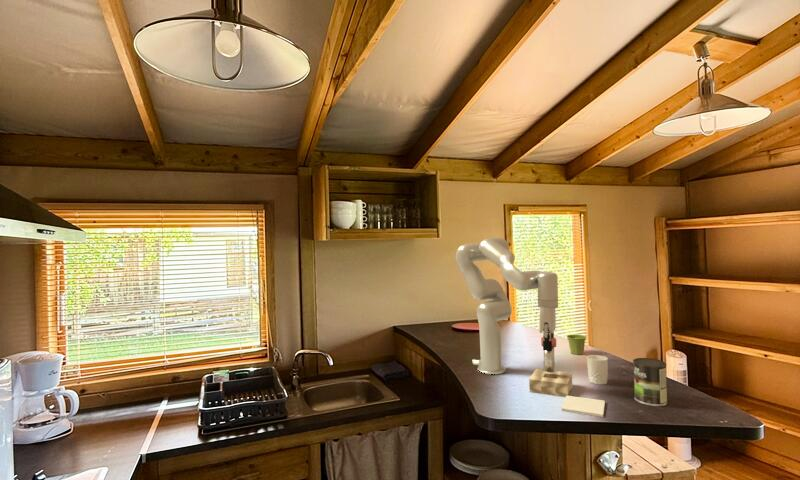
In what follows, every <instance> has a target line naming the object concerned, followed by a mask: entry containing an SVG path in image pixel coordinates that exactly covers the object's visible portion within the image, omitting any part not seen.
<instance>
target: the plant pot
mask: <svg viewBox="0 0 800 480" xmlns="http://www.w3.org/2000/svg"><path fill="white" fill-rule="evenodd" d="M566 338H567V341H568V344H569V351H570V354H572V355H574V356H576V355H577V356H578V355H579V356H581V355H584V353H585V342H586V339H587V336H586V335H583V334H568V335H566Z"/></svg>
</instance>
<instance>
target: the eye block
mask: <svg viewBox="0 0 800 480" xmlns="http://www.w3.org/2000/svg"><path fill="white" fill-rule="evenodd" d="M528 384H529V392H530V393H535V394H544V395H549V396H550V395H551V396H556V397H564V398H566V395H567V396H570V393H571V390H572V387H573V373H572V372H570V371H569V372H567V371H560V370H559V371H557V370H555V372H546V371H544V369H540V368H535V370H534V371H533V372H532V374H531V375H530V377H529V379H528Z"/></svg>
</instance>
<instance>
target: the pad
mask: <svg viewBox="0 0 800 480" xmlns="http://www.w3.org/2000/svg"><path fill="white" fill-rule="evenodd" d="M605 404H606V400H603V399H602V400H601V399H596V398H595V399H594V398H587V397H581V396H572V395H569V396H567V395H566V397H564V401H563V404H562V406H561V407H560V408H561V411H562V412H569V413H575V414H580V415H582V414H583V415H588V416H593V417H601V418H604V413H605V406H606V405H605Z"/></svg>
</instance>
